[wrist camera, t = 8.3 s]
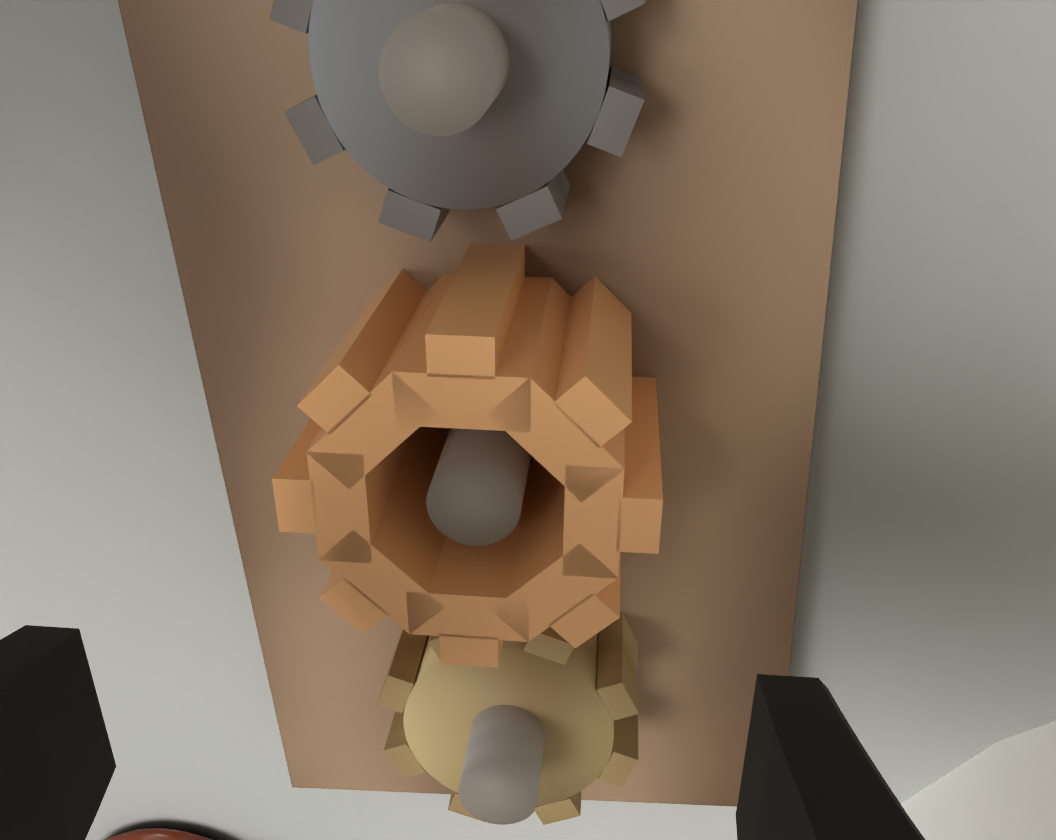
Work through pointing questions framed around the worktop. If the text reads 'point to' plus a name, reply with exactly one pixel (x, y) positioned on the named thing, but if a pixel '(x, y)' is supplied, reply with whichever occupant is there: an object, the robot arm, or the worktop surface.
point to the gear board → (550, 251)
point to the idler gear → (484, 404)
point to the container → (994, 793)
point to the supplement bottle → (157, 835)
